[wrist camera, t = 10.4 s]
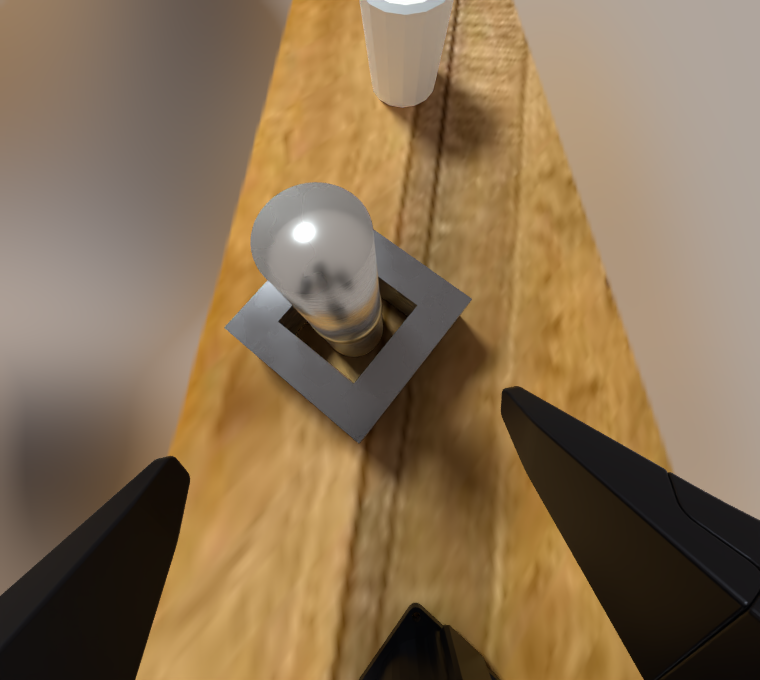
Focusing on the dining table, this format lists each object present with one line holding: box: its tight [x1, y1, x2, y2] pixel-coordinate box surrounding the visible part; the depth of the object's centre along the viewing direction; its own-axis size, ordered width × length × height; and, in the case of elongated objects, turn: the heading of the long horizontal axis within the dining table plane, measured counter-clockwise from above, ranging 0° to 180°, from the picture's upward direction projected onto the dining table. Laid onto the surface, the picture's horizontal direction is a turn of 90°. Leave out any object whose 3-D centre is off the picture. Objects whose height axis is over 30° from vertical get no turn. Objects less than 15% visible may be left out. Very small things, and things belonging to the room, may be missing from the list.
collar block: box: [224, 229, 472, 443], centre depth 21 cm, size 11×11×4 cm
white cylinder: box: [360, 0, 453, 108], centre depth 24 cm, size 7×7×7 cm
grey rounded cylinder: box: [251, 182, 383, 357], centre depth 17 cm, size 4×4×12 cm
